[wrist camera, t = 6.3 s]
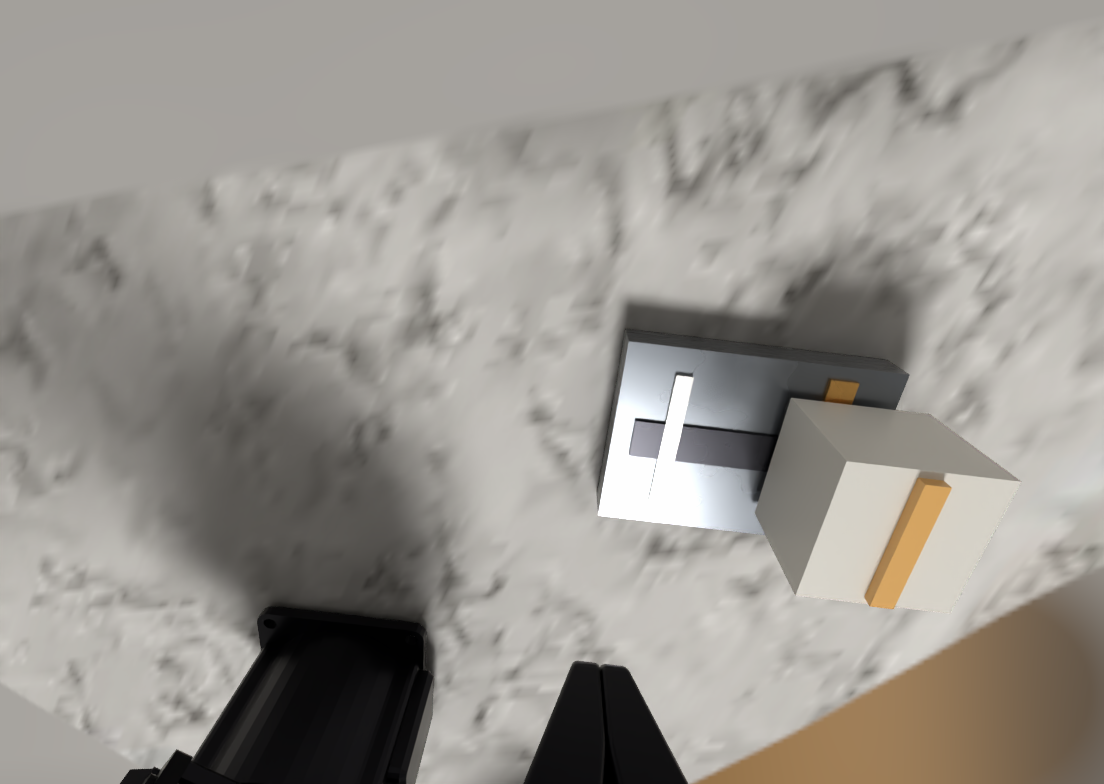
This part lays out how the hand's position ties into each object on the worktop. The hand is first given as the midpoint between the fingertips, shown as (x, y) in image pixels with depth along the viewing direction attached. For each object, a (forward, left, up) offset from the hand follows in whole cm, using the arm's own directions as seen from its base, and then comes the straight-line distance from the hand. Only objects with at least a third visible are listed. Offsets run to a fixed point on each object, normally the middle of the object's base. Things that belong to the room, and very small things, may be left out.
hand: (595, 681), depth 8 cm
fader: (+8, 0, -9) cm, 11 cm away
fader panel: (+5, 0, -10) cm, 11 cm away
